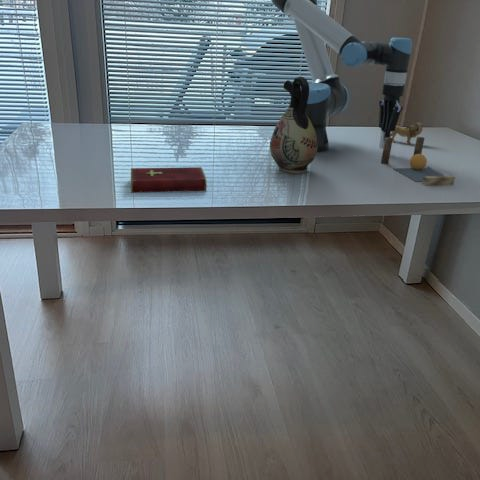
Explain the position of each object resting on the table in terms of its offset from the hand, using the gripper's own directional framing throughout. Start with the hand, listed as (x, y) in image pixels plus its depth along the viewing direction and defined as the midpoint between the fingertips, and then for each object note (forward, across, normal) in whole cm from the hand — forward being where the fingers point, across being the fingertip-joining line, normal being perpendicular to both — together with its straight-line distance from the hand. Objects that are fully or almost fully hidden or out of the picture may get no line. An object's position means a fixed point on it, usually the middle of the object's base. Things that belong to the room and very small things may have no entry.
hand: (383, 148), depth 185 cm
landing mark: (+2, -27, 0) cm, 27 cm away
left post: (+2, -13, +6) cm, 15 cm away
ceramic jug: (+2, -18, +43) cm, 47 cm away
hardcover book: (+3, -28, +85) cm, 89 cm away
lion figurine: (+2, +15, -18) cm, 24 cm away
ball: (-1, -22, -1) cm, 22 cm away
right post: (+2, -13, -6) cm, 15 cm away
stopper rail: (+2, -37, +1) cm, 37 cm away
